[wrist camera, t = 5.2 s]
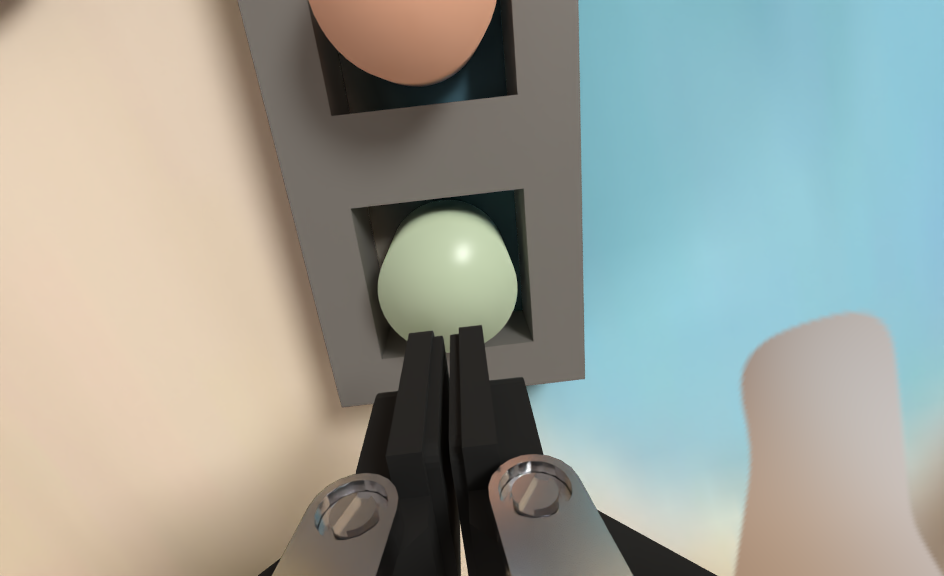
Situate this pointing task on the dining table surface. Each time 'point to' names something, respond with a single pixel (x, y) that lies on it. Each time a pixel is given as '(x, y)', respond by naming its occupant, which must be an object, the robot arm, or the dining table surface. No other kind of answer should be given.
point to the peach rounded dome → (405, 35)
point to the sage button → (447, 273)
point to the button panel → (430, 185)
